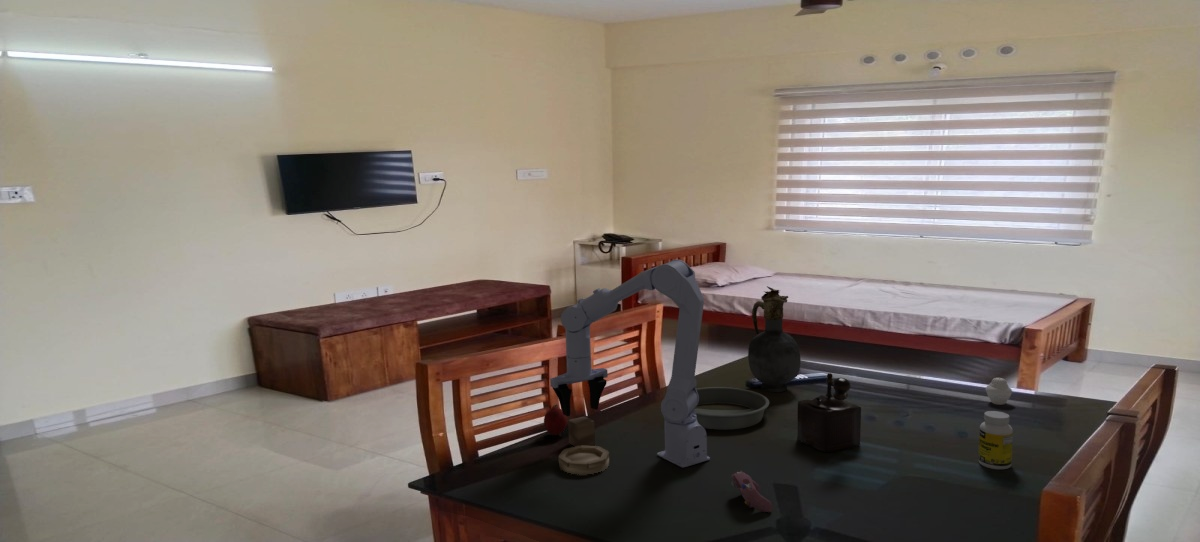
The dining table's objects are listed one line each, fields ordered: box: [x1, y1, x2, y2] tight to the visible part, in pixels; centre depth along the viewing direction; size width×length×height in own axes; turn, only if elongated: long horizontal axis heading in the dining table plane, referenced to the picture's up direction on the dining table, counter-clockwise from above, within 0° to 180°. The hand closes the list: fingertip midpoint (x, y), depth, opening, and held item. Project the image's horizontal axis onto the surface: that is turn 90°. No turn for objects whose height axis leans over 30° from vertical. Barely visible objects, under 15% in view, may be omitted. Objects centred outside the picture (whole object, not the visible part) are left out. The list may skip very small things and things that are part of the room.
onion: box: [543, 403, 568, 437], centre depth 182 cm, size 6×6×8 cm
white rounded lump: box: [985, 377, 1013, 406], centre depth 196 cm, size 6×6×7 cm
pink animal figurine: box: [731, 470, 774, 513], centre depth 142 cm, size 10×5×7 cm, turn 5°
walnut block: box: [567, 415, 596, 446], centre depth 175 cm, size 4×4×6 cm
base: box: [557, 445, 610, 476], centre depth 163 cm, size 11×11×2 cm
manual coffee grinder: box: [796, 372, 862, 453], centre depth 169 cm, size 16×11×18 cm
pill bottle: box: [978, 410, 1014, 471], centre depth 156 cm, size 6×6×11 cm
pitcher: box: [747, 286, 802, 393], centre depth 215 cm, size 11×19×30 cm, turn 19°
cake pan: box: [694, 386, 770, 430], centre depth 193 cm, size 25×25×4 cm
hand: (580, 411), depth 175 cm, fingers open, 7 cm apart
